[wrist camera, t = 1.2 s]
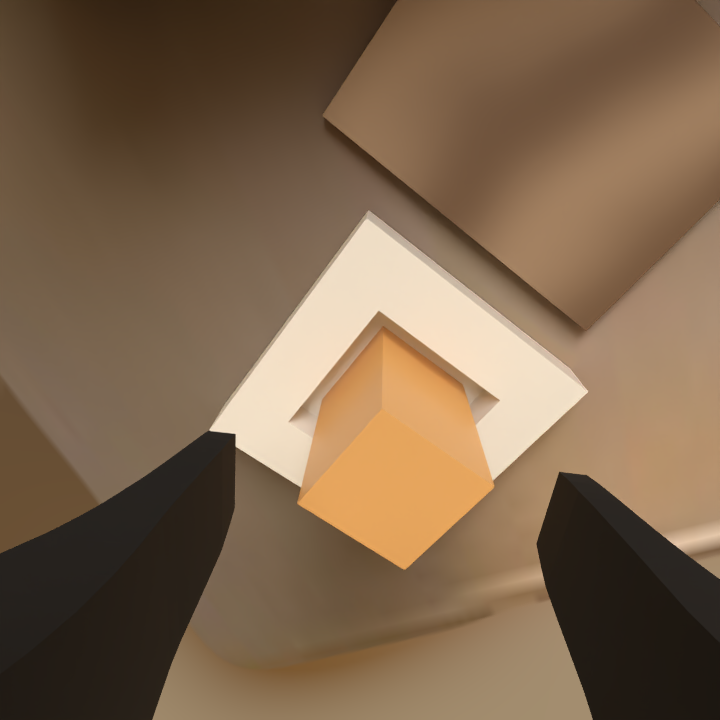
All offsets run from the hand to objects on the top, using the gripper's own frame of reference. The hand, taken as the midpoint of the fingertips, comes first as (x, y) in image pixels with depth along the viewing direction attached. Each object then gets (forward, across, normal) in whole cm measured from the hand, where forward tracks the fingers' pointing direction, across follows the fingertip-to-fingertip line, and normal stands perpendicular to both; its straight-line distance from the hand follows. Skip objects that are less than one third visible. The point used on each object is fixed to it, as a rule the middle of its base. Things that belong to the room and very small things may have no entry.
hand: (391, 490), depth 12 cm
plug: (+9, 0, +2) cm, 9 cm away
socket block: (+10, 0, +2) cm, 10 cm away
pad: (+10, -4, -8) cm, 13 cm away
